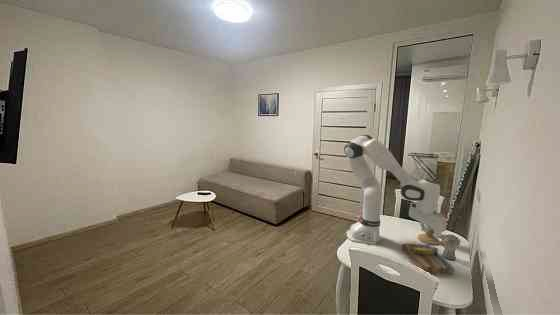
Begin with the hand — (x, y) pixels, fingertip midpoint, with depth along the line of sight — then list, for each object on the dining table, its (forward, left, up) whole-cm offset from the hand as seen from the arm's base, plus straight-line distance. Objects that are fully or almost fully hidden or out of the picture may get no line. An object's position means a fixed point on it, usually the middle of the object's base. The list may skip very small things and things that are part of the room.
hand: (424, 231), depth 120 cm
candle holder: (+18, +25, -19) cm, 36 cm away
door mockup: (+3, +1, -19) cm, 19 cm away
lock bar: (+3, +2, -14) cm, 15 cm away
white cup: (+27, +33, -19) cm, 46 cm away
